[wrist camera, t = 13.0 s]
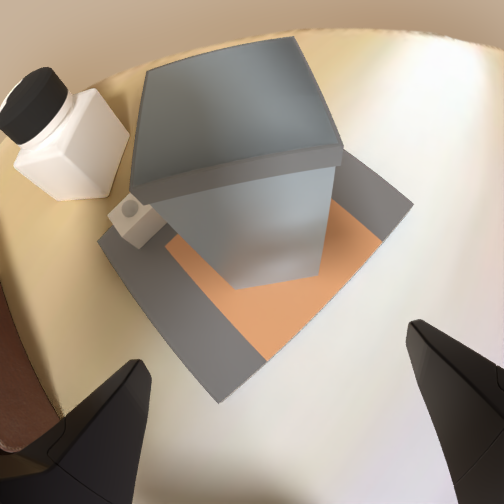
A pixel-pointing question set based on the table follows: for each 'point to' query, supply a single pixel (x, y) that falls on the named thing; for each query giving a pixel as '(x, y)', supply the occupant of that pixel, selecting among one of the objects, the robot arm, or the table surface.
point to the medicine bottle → (63, 137)
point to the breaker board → (247, 299)
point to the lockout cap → (240, 159)
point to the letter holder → (19, 391)
